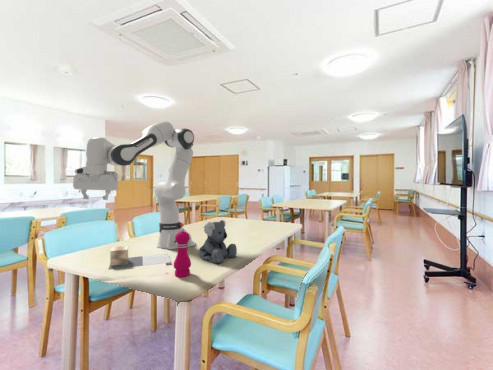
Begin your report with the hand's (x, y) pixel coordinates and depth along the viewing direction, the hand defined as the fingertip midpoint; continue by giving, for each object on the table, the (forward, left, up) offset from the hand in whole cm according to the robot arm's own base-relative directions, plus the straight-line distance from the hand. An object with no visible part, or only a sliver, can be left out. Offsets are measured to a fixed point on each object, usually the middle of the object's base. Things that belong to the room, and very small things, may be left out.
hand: (95, 199), depth 122 cm
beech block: (-11, +9, -30) cm, 33 cm away
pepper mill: (-36, +31, -31) cm, 57 cm away
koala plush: (-56, +14, -31) cm, 65 cm away
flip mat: (-20, +9, -31) cm, 38 cm away
